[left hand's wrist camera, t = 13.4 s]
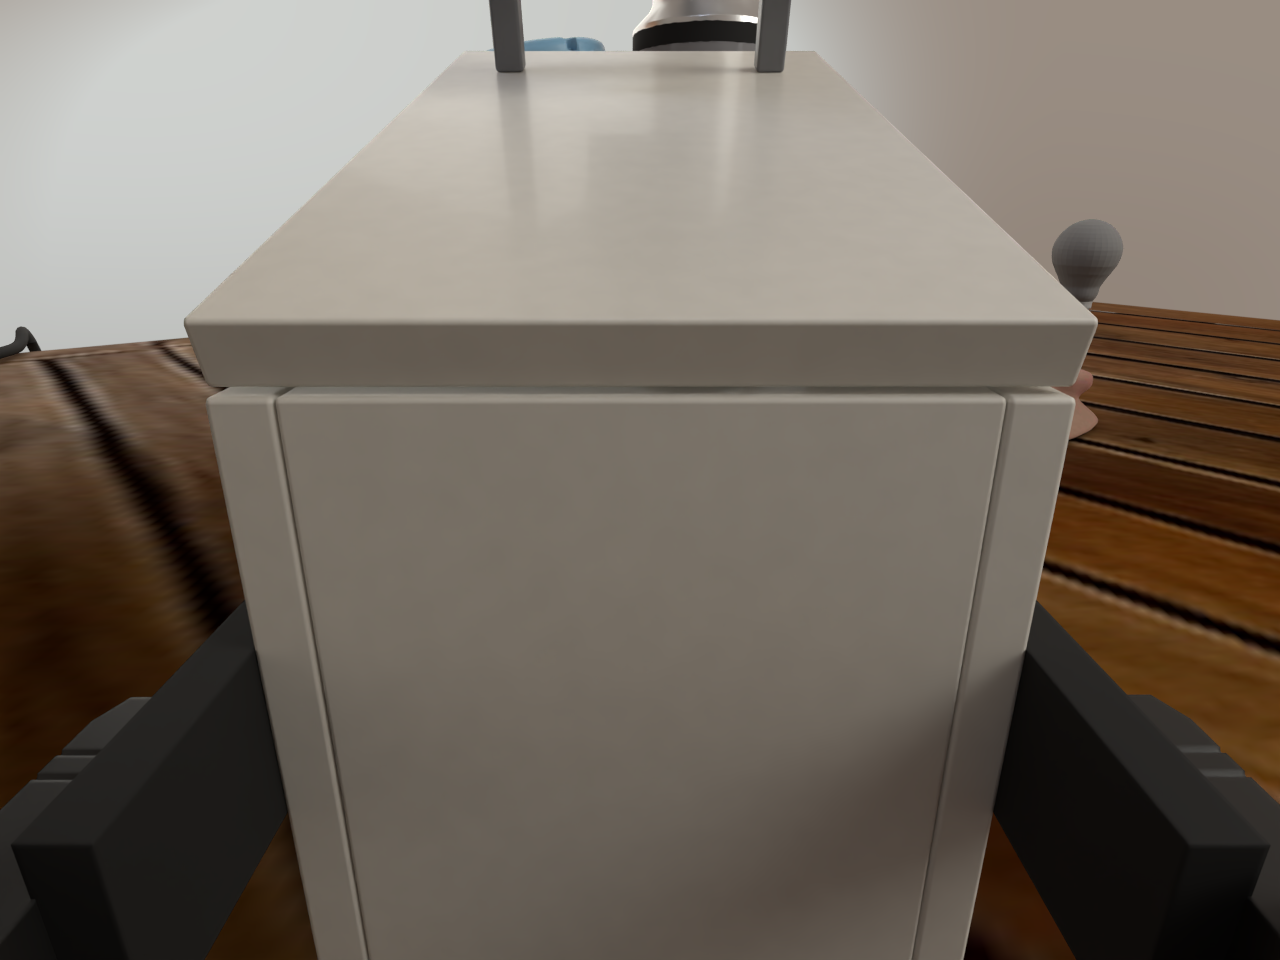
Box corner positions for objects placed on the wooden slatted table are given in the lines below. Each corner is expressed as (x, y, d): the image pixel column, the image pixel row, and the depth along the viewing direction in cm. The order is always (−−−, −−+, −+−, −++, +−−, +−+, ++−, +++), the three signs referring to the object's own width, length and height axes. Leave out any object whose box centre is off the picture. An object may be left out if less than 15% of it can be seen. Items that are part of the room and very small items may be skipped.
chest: (501, 570, 28) (479, 264, 25) (778, 570, 28) (799, 264, 25) (331, 1040, 13) (200, 398, 9) (949, 1039, 13) (1080, 397, 9)
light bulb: (1053, 329, 75) (1073, 220, 72) (1030, 319, 81) (1048, 218, 78) (1118, 330, 75) (1141, 220, 71) (1090, 320, 80) (1111, 218, 77)
